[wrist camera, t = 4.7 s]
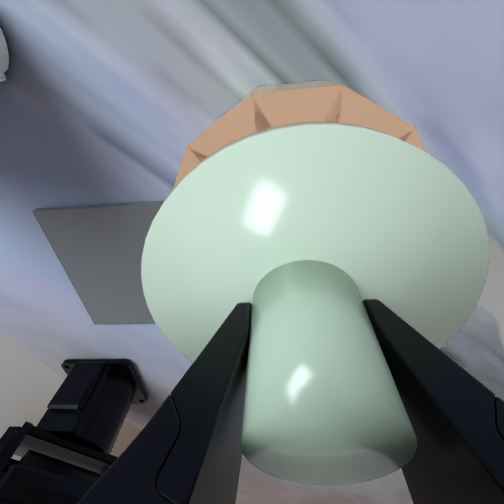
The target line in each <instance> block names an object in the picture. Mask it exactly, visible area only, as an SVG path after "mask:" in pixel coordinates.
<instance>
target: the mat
mask: <svg viewBox="0 0 504 504" xmlns="http://www.w3.org/2000/svg"><path fill="white" fill-rule="evenodd" d="M163 203H164V201H159V202H142V203H126V204H110V205H94V206H77V207H61V208H45V209H36V210H35V211H33V213H34V215H35V217H36V219H37V220H38V222H39V224H40V226H41V228H42V230H43V231H44V233H45V235H46V237H47V239H48V241H49V242H50V244H51V246H52V248H53V250H54V251H55V253H56V255H57V257H58V259H59V261H60V262H61V264H62V266H63V268H64V270H65V272H66V273H67V275H68V277H69V279H70V281H71V283H72V284H73V286H74V288H75V290H76V292H77V294H78V295H79V297H80V299H81V301H82V303H83V304H84V306H85V308H86V310H87V312H88V314H89V315H90V317H91V319H92V321H93V323H94V324H147V323H155V321H154V319H153V317H152V315H151V313H150V311H149V308H148V306H147V303H146V299H145V296H144V292H143V286H142V278H141V263H142V254H143V249H144V244H145V239H146V237H147V234H148V232H149V229H150V226H151V224H152V221H153V219H154V218H155V216H156V214H157V213H158V211H159V209H160V208H161V206H162V204H163Z"/></svg>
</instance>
